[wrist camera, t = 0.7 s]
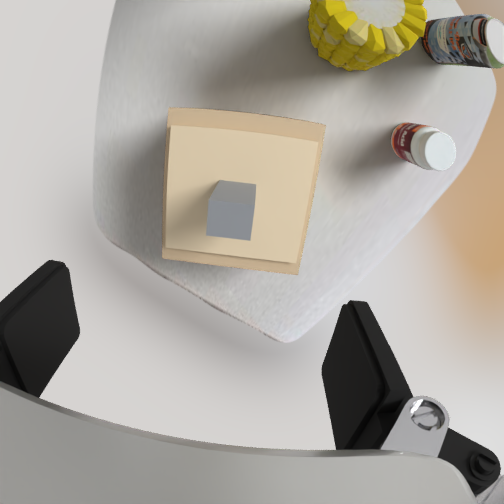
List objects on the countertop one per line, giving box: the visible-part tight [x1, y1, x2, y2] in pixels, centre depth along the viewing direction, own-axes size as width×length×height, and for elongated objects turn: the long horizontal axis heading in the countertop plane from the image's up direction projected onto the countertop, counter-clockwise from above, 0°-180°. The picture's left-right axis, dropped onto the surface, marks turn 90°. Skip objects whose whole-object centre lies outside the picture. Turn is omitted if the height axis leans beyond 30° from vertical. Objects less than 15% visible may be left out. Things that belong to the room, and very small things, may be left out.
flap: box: [166, 125, 318, 263], centre depth 24 cm, size 11×12×6 cm
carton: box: [162, 108, 326, 275], centre depth 31 cm, size 14×13×10 cm
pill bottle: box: [391, 123, 456, 171], centre depth 29 cm, size 5×5×8 cm
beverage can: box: [421, 14, 504, 68], centre depth 22 cm, size 6×7×12 cm
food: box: [307, 0, 427, 71], centre depth 22 cm, size 15×12×10 cm
